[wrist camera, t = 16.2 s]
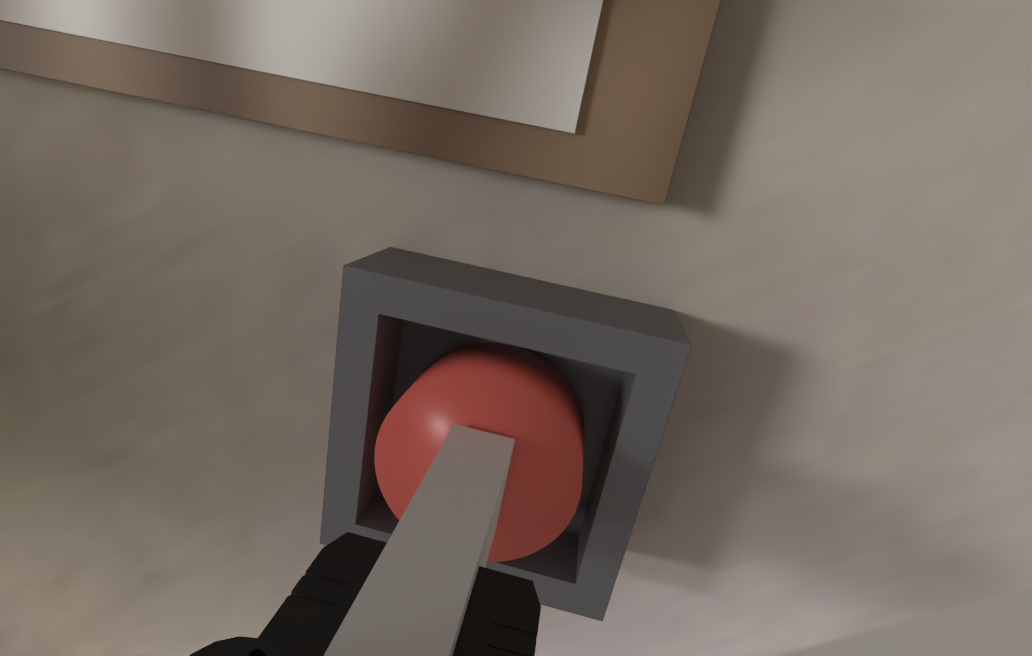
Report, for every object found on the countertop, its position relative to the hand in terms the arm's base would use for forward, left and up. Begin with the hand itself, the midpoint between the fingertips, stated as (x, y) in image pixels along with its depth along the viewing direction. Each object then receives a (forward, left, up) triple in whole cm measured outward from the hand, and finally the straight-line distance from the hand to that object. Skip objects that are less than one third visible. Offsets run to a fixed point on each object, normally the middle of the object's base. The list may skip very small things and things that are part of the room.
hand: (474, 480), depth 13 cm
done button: (0, 0, -3) cm, 3 cm away
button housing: (0, 0, -4) cm, 4 cm away
